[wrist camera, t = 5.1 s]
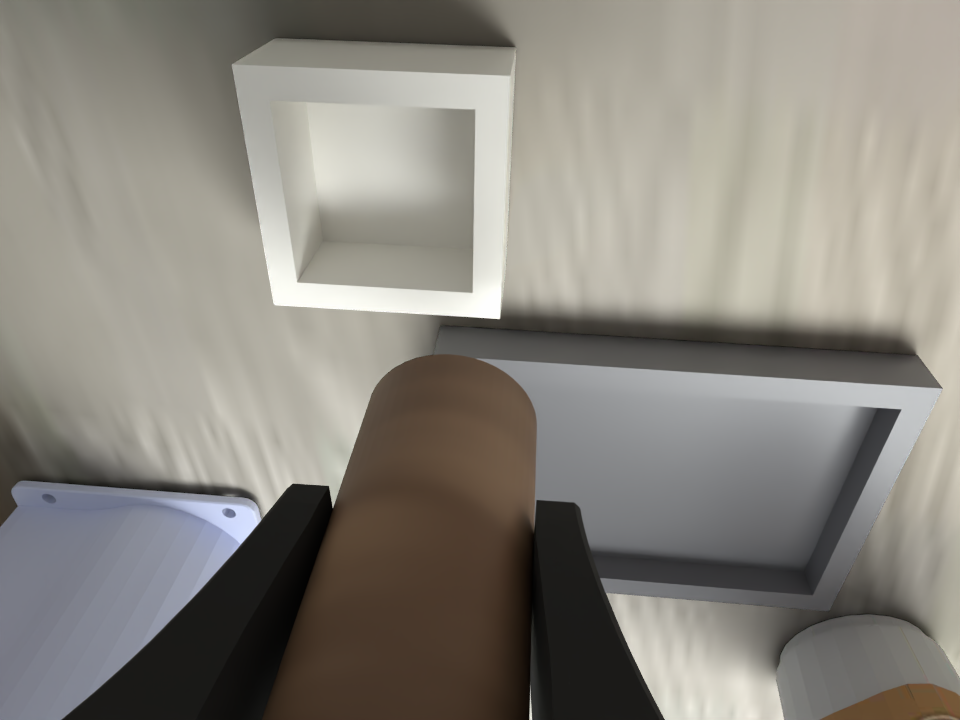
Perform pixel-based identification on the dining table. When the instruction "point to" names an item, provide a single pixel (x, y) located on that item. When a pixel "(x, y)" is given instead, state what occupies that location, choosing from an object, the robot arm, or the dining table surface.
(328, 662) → the dowel
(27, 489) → the robot arm
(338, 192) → the white square frame
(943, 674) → the coffee cup
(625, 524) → the tray
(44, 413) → the dining table surface
